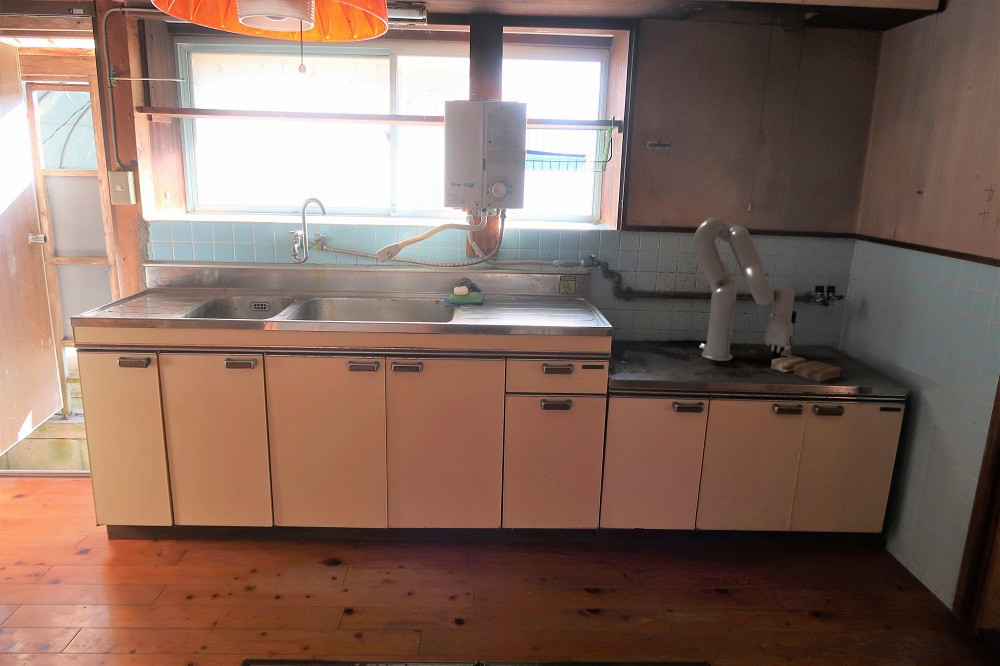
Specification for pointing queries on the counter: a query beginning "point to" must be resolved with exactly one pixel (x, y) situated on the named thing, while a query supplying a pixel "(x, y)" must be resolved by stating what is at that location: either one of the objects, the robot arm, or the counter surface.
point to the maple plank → (786, 363)
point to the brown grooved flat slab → (816, 371)
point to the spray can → (788, 352)
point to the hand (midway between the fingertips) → (775, 360)
